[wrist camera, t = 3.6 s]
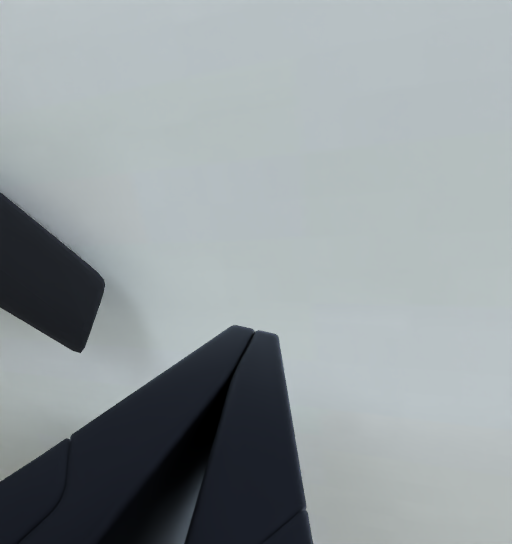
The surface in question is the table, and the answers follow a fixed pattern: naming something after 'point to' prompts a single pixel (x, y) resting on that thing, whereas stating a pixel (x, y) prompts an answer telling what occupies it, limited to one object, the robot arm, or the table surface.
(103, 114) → the table surface
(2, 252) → the electric trimmer
